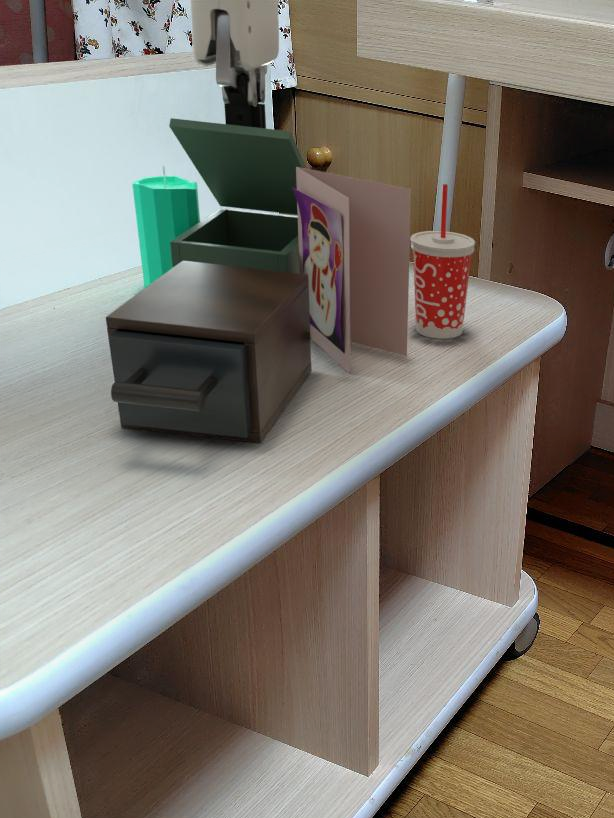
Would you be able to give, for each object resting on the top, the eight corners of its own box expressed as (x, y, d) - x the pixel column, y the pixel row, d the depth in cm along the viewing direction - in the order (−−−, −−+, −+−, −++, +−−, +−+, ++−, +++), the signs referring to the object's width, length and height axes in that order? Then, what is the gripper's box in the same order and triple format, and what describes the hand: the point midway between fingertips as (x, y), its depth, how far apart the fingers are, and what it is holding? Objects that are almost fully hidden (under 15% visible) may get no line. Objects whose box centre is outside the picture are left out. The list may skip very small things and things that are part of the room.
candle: (171, 300, 98) (158, 175, 92) (131, 286, 101) (116, 163, 94) (218, 288, 103) (209, 168, 96) (179, 274, 105) (167, 156, 99)
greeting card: (293, 331, 94) (286, 166, 86) (364, 322, 98) (364, 164, 90) (341, 374, 86) (338, 198, 79) (417, 364, 90) (422, 194, 82)
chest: (289, 337, 93) (286, 254, 89) (178, 325, 93) (169, 241, 89) (325, 293, 104) (324, 218, 100) (226, 282, 104) (221, 207, 100)
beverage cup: (399, 322, 99) (401, 177, 92) (455, 317, 102) (461, 176, 94) (422, 344, 94) (427, 193, 87) (480, 338, 97) (489, 191, 90)
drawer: (227, 464, 69) (220, 373, 65) (94, 449, 69) (80, 357, 65) (297, 370, 84) (294, 292, 80) (188, 358, 84) (180, 279, 81)
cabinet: (260, 443, 74) (253, 333, 70) (120, 427, 74) (105, 317, 70) (311, 371, 86) (308, 274, 82) (191, 357, 87) (182, 260, 82)
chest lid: (289, 139, 86) (290, 131, 86) (168, 126, 86) (170, 117, 86) (323, 217, 100) (324, 210, 100) (220, 206, 100) (221, 199, 100)
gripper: (219, -87, 88) (233, 132, 97) (153, -92, 75) (176, 161, 85) (302, -78, 88) (308, 141, 97) (251, -81, 75) (263, 170, 85)
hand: (247, 149), depth 91 cm, fingers closed
